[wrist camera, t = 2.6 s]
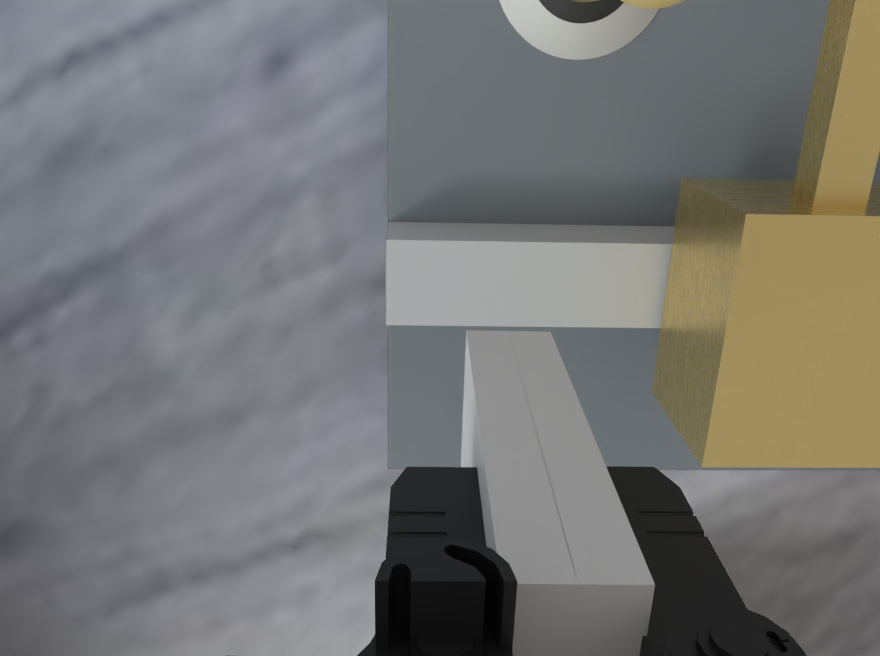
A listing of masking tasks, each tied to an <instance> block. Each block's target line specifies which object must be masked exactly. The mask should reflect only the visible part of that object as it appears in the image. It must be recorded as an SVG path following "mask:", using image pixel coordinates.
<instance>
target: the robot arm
mask: <svg viewBox="0 0 880 656" xmlns="http://www.w3.org/2000/svg"><path fill="white" fill-rule="evenodd" d="M375 633H376V634H375V636H374V637H373V639H372V641H371V642H370V644H369V645H368V646H367V647H366V648H365V649H364V650H362V651H361V652H360V653H359V654H358V655H357V656H806V654H805V652H804V651H803V650H802V649H801V647H800V646H799V645H798V644H797V643H796V642H795V640H794V639H793V638H792V637H791V636H790V635H789V633H788V632H787V631H785V630H784V629H782V628H781V627H779V626H778V625H776V624H775V623H773V622H772V621H770V620H769V619H768V618H766V617H765V616H762V615H760V614H757V613H754V612H752V611H749V610H747V608H746V606H745V605H744V603H743V601H742V599H741V597H740V596H739V594H738V592H737V590H736V588H735V587H734V585H733V583H732V581H731V579H730V577H729V576H728V574H727V572H726V570H725V568H724V567H723V565H722V563H721V561H720V559H719V558H718V556H717V554H716V552H715V550H714V549H713V547H712V545H711V543H710V541H709V540H708V538H707V537H704V531H703V529H702V527H701V525H700V523H699V521H698V520H697V518H696V516H693V511H692V509H691V507H690V505H689V503H688V502H687V500H686V498H685V496H684V494H683V493H682V491H681V489H680V487H678V486H677V485H676V484H675V483H673V482H672V481H671V480H670V479H668V478H667V477H666V476H665V475H664V474H662V473H661V472H660V471H659V470H657V469H656V468H655V467H624V466H606V465H605V462H604V460H603V458H602V455H601V453H600V450H599V448H598V445H597V443H596V441H595V438H594V436H593V433H592V431H591V428H590V426H589V424H588V421H587V419H586V416H585V414H584V411H583V409H582V407H581V404H580V402H579V399H578V397H577V395H576V392H575V390H574V387H573V385H572V382H571V380H570V378H569V375H568V373H567V370H566V368H565V365H564V363H563V361H562V358H561V356H560V353H559V351H558V349H557V346H556V344H555V341H554V339H553V336H552V334H551V332H543V331H481V330H466V348H465V373H464V397H463V422H462V446H461V467H406V469H405V470H404V471H403V472H402V474H401V475H400V476H399V478H398V479H397V480H396V481H395V483H394V484H393V485H392V486H391V494H390V508H389V521H388V537H387V549H386V560H384V561H383V562H382V564H381V566H380V569H379V572H378V574H377V577H376V580H375Z"/></svg>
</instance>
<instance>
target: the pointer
mask: <svg viewBox="0 0 880 656" xmlns="http://www.w3.org/2000/svg"><path fill="white" fill-rule="evenodd" d="M879 151H880V0H830V2H829V7H828V12H827V17H826V22H825V27H824V33H823V38H822V43H821V48H820V53H819V58H818V63H817V68H816V74H815V79H814V84H813V89H812V94H811V99H810V104H809V109H808V115H807V120H806V125H805V130H804V135H803V140H802V145H801V150H800V156H799V161H798V166H797V171H796V176H795V180H743V179H690V178H682V179H681V186H680V193H679V200H678V207H677V214H676V221H675V228H674V236H673V243H672V250H671V257H670V264H669V271H668V278H667V285H666V292H665V300H664V307H663V314H662V321H661V328H660V335H659V342H658V349H657V356H656V364H655V371H654V378H653V385H652V393H653V394H654V396H655V397H656V399H657V400H658V402H659V403H660V405H661V406H662V408H663V409H664V411H665V412H666V414H667V415H668V417H669V418H670V420H671V421H672V423H673V424H674V426H675V427H676V429H677V430H678V432H679V433H680V435H681V436H682V438H683V439H684V441H685V442H686V444H687V445H688V447H689V448H690V450H691V452H692V453H693V455H694V456H695V458H696V459H697V461H698V462H699V464H700V465H701V467H791V468H880V184H878V183H875V182H872V181H873V177H874V173H875V168H876V164H877V160H878V156H879Z"/></svg>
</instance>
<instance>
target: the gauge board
mask: <svg viewBox="0 0 880 656" xmlns="http://www.w3.org/2000/svg"><path fill="white" fill-rule="evenodd" d="M829 2H830V0H388V226H387V234H386V325H388V469H406V467H461V446H462V422H463V397H464V373H465V348H466V330H481V331H543V332H551V334H552V336H553V339H554V341H555V344H556V346H557V349H558V351H559V353H560V356H561V358H562V361H563V363H564V365H565V368H566V370H567V373H568V375H569V378H570V380H571V382H572V385H573V387H574V390H575V392H576V395H577V397H578V399H579V402H580V404H581V407H582V409H583V411H584V414H585V416H586V419H587V421H588V424H589V426H590V428H591V431H592V433H593V436H594V438H595V441H596V443H597V445H598V448H599V450H600V453H601V455H602V458H603V460H604V462H605V465H606V466H624V467H655V468H656V469H657V470H880V468H791V467H701V465H700V464H699V462H698V461H697V459H696V458H695V456H694V455H693V453H692V452H691V450H690V448H689V447H688V445H687V444H686V442H685V441H684V439H683V438H682V436H681V435H680V433H679V432H678V430H677V429H676V427H675V426H674V424H673V423H672V421H671V420H670V418H669V417H668V415H667V414H666V412H665V411H664V409H663V408H662V406H661V405H660V403H659V402H658V400H657V399H656V397H655V396H654V394H653V393H652V385H653V378H654V371H655V364H656V356H657V349H658V342H659V335H660V328H661V321H662V314H663V307H664V300H665V292H666V285H667V278H668V271H669V264H670V257H671V250H672V243H673V236H674V228H675V221H676V214H677V207H678V200H679V193H680V186H681V179H682V178H690V179H743V180H795V176H796V171H797V166H798V161H799V156H800V150H801V145H802V140H803V135H804V130H805V125H806V120H807V115H808V109H809V104H810V99H811V94H812V89H813V84H814V79H815V74H816V68H817V63H818V58H819V53H820V48H821V43H822V38H823V33H824V27H825V22H826V17H827V12H828V7H829ZM872 182H875V183H878V184H880V151H879V156H878V160H877V164H876V168H875V173H874V177H873V181H872Z"/></svg>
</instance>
